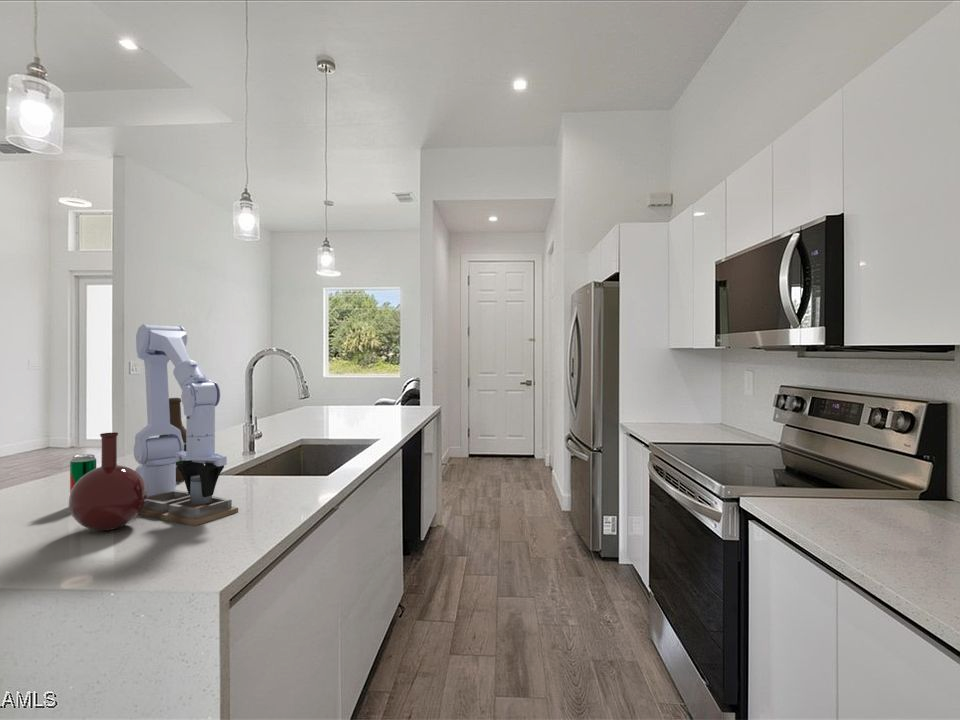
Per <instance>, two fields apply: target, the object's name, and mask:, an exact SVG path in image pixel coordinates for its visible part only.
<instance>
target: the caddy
mask: <svg viewBox="0 0 960 720" xmlns="http://www.w3.org/2000/svg"><path fill="white" fill-rule="evenodd" d="M232 501H233V500H232V499H230V498H224V497H218V496H214V495H212V502H210V503H206V504H199V505H194V504H190V494H188V491H185V490H180V489H179V490H178V489H176V490H172V491H168V492H164V493H160V494H156V495H152V496H148V497H146V501H145V504H144V506H143V508H142V510H141V511H140V512H139V514H138V515H141V516H145V517H150V518H154V519H159V520H164V521H169V522H173V523H178V524H184V525H187V526H194V527H196V526H199V525H203V524H205V523H207V522H211V521H214V520H218V519H221V518H223V517H227V516H230V515H232V514H236V513H239V507H236V506H233V504H232Z"/></svg>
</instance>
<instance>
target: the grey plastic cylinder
mask: <svg viewBox="0 0 960 720" xmlns="http://www.w3.org/2000/svg"><path fill="white" fill-rule="evenodd" d="M190 481H191V482H190V504H194V505H199V504H206V503H210V502H212V496H213V495H212V496H208V497H203V495H202V487H201V479H200V476H199V474H196V475H192V476H191V477H190Z"/></svg>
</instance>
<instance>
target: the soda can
mask: <svg viewBox="0 0 960 720" xmlns="http://www.w3.org/2000/svg"><path fill="white" fill-rule="evenodd" d="M96 468H97V458H96V457H95V454H91V453H90V454H87V453H86V454H79V455H73V456H72V457H71V460H70V461H69V494H70V493H71V491H72V489H73V487H74V485H75V484H76V482H77V481H78V480H79V479H80V478H81V477H82V476H84V475H85V474H86V473H88V472H90V471H91V470H94V469H96Z"/></svg>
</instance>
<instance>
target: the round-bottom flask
mask: <svg viewBox="0 0 960 720" xmlns="http://www.w3.org/2000/svg"><path fill="white" fill-rule="evenodd" d="M118 435H119V432H103V433H100V434H99V436H100V438H101V461H100V462H101V465H100V467H99V466H98V467H96V469H94V470H91V471H90V472H88V473H86V474H85V475H84V476H82V477H81V478H80V479H79V480H78V481H77V482H76V484H75V485H74V487H73V489H72V491H71V493H70V492H69V497H68V508H69V512H70V514H71V517H72V518H73V519H74V520H75V522H76V523H78V524H79V525H81V526H82V527H84V528H86V529H89V530H92V531H98V532H99V531H101V532H103V531H112V530H115V529H118V528H121V527H123V526H125V525H127V524H129V523H130V522H131V521H133V520H134V519H135V518H136V517H137V516H138V515H140V514H139V512H140V511H141V510H142V508H143V506H144V504H145V501H146V496H147V489H146V485H145V482H144V480H143V479H142V477H141V476H140V475H139V474H138V473H137V472H136V471H135V469H133V468H130V467H128V466H124V465H118V463H117V461H118V459H117V458H118V451H117V450H118V447H117V446H118V445H117V444H118V443H117V442H118V441H117V440H118Z"/></svg>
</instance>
